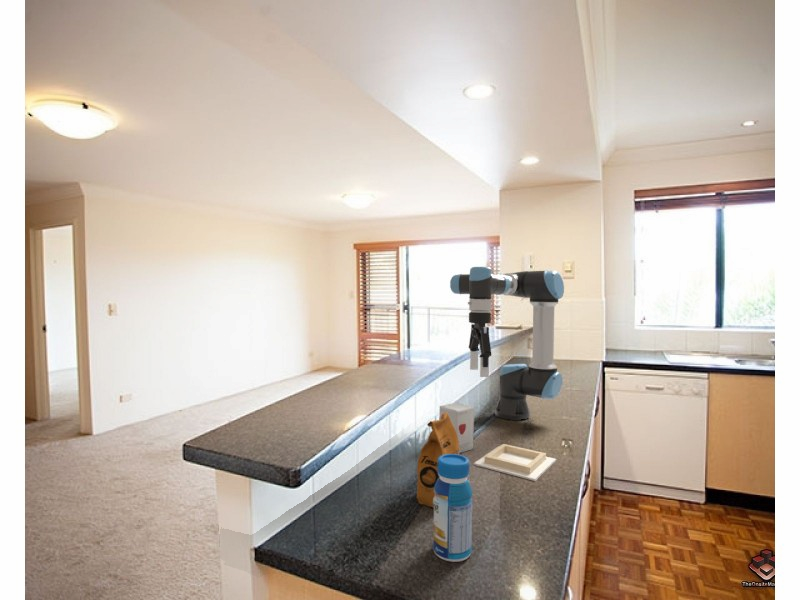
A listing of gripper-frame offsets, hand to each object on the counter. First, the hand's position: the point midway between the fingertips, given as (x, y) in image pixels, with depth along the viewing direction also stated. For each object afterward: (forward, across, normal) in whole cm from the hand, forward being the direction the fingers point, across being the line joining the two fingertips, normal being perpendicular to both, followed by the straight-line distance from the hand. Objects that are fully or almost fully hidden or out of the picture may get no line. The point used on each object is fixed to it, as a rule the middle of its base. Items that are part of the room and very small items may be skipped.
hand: (478, 373), depth 154 cm
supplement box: (+28, -4, -7) cm, 29 cm away
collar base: (+27, +10, +10) cm, 31 cm away
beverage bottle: (+28, +58, -21) cm, 68 cm away
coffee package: (+28, +34, -20) cm, 48 cm away
